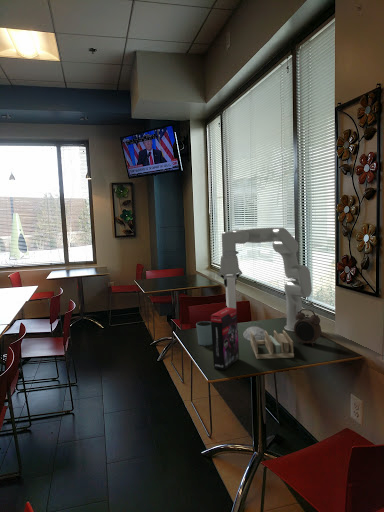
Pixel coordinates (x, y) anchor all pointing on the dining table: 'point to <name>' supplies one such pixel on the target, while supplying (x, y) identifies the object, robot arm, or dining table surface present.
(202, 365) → the dining table surface
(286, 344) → the plywood offcut
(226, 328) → the graphics card box
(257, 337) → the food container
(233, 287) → the white rectangular block
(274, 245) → the robot arm
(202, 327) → the grey cylindrical cup
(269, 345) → the rack
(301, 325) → the alarm clock
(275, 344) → the sage offcut
